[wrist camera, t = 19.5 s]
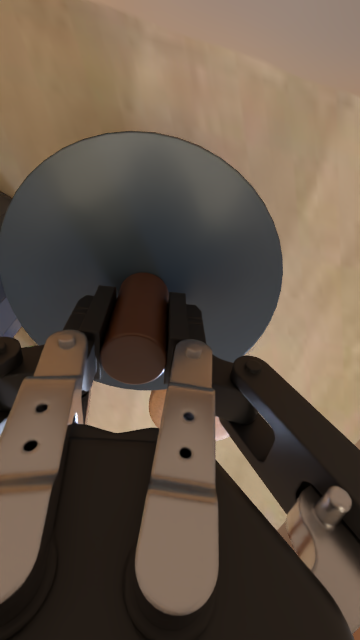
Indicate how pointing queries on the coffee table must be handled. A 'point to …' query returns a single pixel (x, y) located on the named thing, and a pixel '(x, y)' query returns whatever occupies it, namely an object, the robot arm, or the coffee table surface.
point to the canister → (3, 318)
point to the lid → (141, 248)
